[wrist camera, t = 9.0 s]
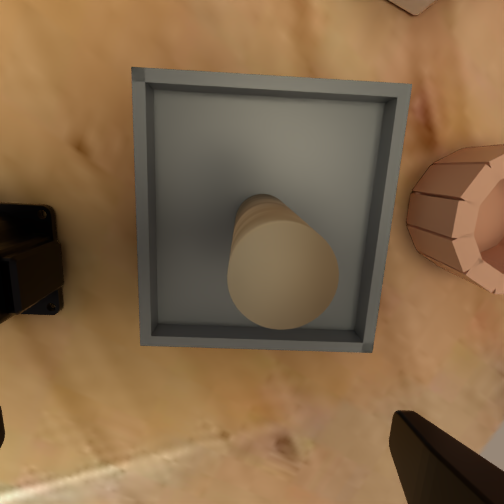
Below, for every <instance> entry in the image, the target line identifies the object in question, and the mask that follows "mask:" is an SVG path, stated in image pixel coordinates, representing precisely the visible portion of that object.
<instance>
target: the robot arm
mask: <svg viewBox="0 0 504 504" xmlns="http://www.w3.org/2000/svg"><path fill="white" fill-rule="evenodd" d="M42 210H44V211H45V212H46V214H47V215H46V218H44V217H43V216H42V214H41V212H42ZM63 284H64V281H63V269H62V258H61V246H60V243H59V242H58V241H57V232H56V220H55V213H54V210H53V209H52V207H50V206H48V205H40V204H18V203H0V324H1V323H2V322H4V321H6V320H7V319H9V318H10V317H12V316H13V315H18V314H38V315H55V314H57V313H58V312H59V311H61V310H62V308H63V299H62V287H61V286H62V285H63ZM50 303H52V304H54V305H55V308H52V307H51V305H50ZM4 438H5V429H4V423H3V416H2V410H1V406H0V448H1V446H2V444H3V441H4ZM389 447H390V452H391V455H392V458H393V461H394V464H395V467H396V470H397V473H398V476H399V479H400V482H401V485H402V488H403V491H404V494H405V497H406V500H407V503H408V504H504V471H502V470H501V469H499V468H498V467H496V466H495V465H493V464H492V463H490V462H489V461H487V460H486V459H484V458H483V457H481V456H480V455H479V454H477V453H476V452H474V451H473V450H471V449H470V448H468V447H467V446H465V445H464V444H462V443H461V442H459V441H458V440H456V439H455V438H453V437H452V436H450V435H449V434H447V433H446V432H444V431H443V430H441V429H440V428H438V427H437V426H435V425H434V424H432V423H431V422H429V421H428V420H426V419H425V418H423V417H422V416H420V415H419V414H417V413H416V412H414V411H406V410H398V411H396V412H395V413H394V415H393V419H392V425H391V431H390V437H389Z"/></svg>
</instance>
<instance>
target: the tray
mask: <svg viewBox="0 0 504 504" xmlns="http://www.w3.org/2000/svg"><path fill="white" fill-rule="evenodd" d="M131 70H132V101H133V132H134V163H135V194H136V225H137V256H138V287H139V318H140V346H170V347H202V348H234V349H266V350H298V351H330V352H362V353H372V351H373V344H374V337H375V331H376V324H377V317H378V310H379V304H380V297H381V290H382V284H383V277H384V270H385V263H386V257H387V250H388V243H389V237H390V230H391V223H392V216H393V210H394V203H395V196H396V190H397V183H398V176H399V169H400V163H401V156H402V149H403V142H404V136H405V129H406V122H407V116H408V109H409V102H410V95H411V89H412V84H403V83H386V82H370V81H354V80H337V79H321V78H305V77H288V76H272V75H256V74H239V73H223V72H206V71H190V70H174V69H157V68H141V67H131ZM257 194H268V195H272V196H274V197H276V198H278V199H279V200H281V201H282V202H283V203H284V204H285V205H286V206H287V207H289V208H290V209H291V210H292V211H293V212H294V213H295V214H297V215H298V216H299V217H300V218H301V219H302V220H303V221H305V222H306V223H307V224H308V225H309V226H310V227H311V228H313V229H314V230H315V231H316V232H317V233H318V234H319V235H321V236H322V237H323V238H324V239H325V240H326V241H327V243H328V244H329V245H330V247H331V248H332V250H333V252H334V254H335V257H336V259H337V263H338V268H339V281H338V287H337V290H336V293H335V296H334V298H333V300H332V301H331V303H330V305H329V306H328V307H327V308H326V310H325V311H324V312H323V313H322V314H321V315H320V316H319V317H317V318H316V319H314V320H313V321H311V322H309V323H308V324H305V325H303V326H300V327H297V328H293V329H285V330H278V329H270V328H266V327H263V326H260V325H258V324H256V323H254V322H252V321H250V320H249V319H248V318H246V317H245V316H244V315H243V314H242V313H241V312H240V311H239V310H238V309H237V307H236V306H235V304H234V302H233V300H232V298H231V296H230V293H229V290H228V284H227V273H228V265H229V258H230V252H231V245H232V239H233V232H234V225H235V219H236V214H237V211H238V209H239V207H240V206H241V204H242V203H243V202H244V201H245V200H246V199H248V198H249V197H251V196H254V195H257Z"/></svg>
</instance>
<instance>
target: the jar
mask: <svg viewBox="0 0 504 504" xmlns="http://www.w3.org/2000/svg"><path fill="white" fill-rule="evenodd" d="M389 1H390V2H392V3H394V4H395V5H397V6H399V7H401V8H402V9H404V10H406V11H407V12H409V13H411V14H412V15H419V14H420V13H422V12H423V11H424V10H426V9H427V8H428V7H430V6H431V5H433V4H434V3H435V2H437V1H438V0H389Z"/></svg>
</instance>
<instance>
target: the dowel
mask: <svg viewBox="0 0 504 504" xmlns="http://www.w3.org/2000/svg"><path fill="white" fill-rule="evenodd" d="M338 281H339V268H338V263H337V259H336V257H335V254H334V252H333V250H332V248H331V247H330V245H329V244H328V243H327V241H326V240H325V239H324V238H323V237H322V236H321V235H319V234H318V233H317V232H316V231H315V230H314V229H313V228H311V227H310V226H309V225H308V224H307V223H306V222H305V221H303V220H302V219H301V218H300V217H299V216H298V215H297V214H295V213H294V212H293V211H292V210H291V209H290V208H289V207H287V206H286V205H285V204H284V203H283V202H282V201H281V200H279V199H278V198H276V197H274V196H272V195H268V194H257V195H254V196H251V197H249V198H248V199H246V200H245V201H244V202H243V203H242V204H241V206H240V207H239V209H238V211H237V214H236V219H235V225H234V232H233V239H232V245H231V252H230V258H229V265H228V273H227V284H228V290H229V293H230V296H231V298H232V300H233V302H234V304H235V306H236V307H237V309H238V310H239V311H240V312H241V313H242V314H243V315H244V316H245V317H246V318H248V319H249V320H250V321H252V322H254V323H256V324H258V325H260V326H263V327H266V328H270V329H278V330H285V329H293V328H297V327H300V326H303V325H305V324H308V323H309V322H311V321H313V320H314V319H316V318H317V317H319V316H320V315H321V314H322V313H323V312H324V311H325V310H326V308H327V307H328V306H329V305H330V303H331V301H332V300H333V298H334V296H335V293H336V290H337V287H338Z"/></svg>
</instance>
